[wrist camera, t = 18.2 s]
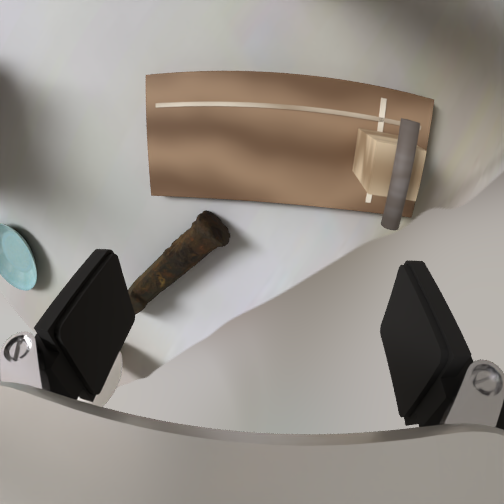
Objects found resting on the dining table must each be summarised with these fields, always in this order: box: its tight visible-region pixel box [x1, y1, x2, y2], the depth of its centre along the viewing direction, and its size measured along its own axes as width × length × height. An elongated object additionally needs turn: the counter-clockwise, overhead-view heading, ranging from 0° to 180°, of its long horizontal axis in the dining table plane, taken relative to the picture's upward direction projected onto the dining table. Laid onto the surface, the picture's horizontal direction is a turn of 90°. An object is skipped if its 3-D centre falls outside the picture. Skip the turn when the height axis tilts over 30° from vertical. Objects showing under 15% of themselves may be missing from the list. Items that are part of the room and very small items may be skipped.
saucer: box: [0, 223, 37, 290], centre depth 37 cm, size 12×12×2 cm
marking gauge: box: [352, 118, 427, 230], centre depth 22 cm, size 8×4×7 cm, turn 178°
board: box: [146, 71, 434, 217], centre depth 27 cm, size 12×26×2 cm, turn 88°
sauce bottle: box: [77, 352, 123, 407], centre depth 38 cm, size 8×8×18 cm
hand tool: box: [128, 211, 230, 314], centre depth 34 cm, size 19×4×5 cm, turn 130°
